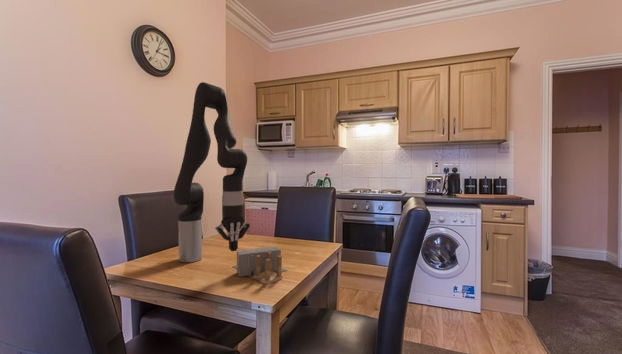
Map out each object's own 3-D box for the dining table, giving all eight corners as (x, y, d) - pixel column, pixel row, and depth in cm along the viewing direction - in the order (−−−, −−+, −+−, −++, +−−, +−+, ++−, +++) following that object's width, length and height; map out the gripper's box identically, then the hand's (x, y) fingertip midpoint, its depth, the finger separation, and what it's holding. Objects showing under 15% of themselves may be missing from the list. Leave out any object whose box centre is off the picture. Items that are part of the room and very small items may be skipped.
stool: (254, 278, 103) (254, 255, 103) (269, 273, 108) (269, 251, 108) (266, 285, 98) (267, 261, 98) (282, 279, 104) (282, 256, 103)
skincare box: (238, 255, 104) (281, 249, 110) (235, 250, 111) (276, 244, 116) (239, 278, 104) (282, 271, 110) (236, 272, 111) (277, 266, 117)
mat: (232, 267, 117) (232, 266, 117) (263, 260, 126) (263, 259, 126) (253, 279, 103) (253, 278, 103) (287, 271, 112) (287, 270, 112)
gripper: (245, 201, 115) (245, 245, 115) (211, 203, 106) (211, 251, 107) (254, 203, 109) (254, 249, 109) (219, 205, 100) (219, 256, 101)
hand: (233, 250), depth 108 cm, fingers closed
